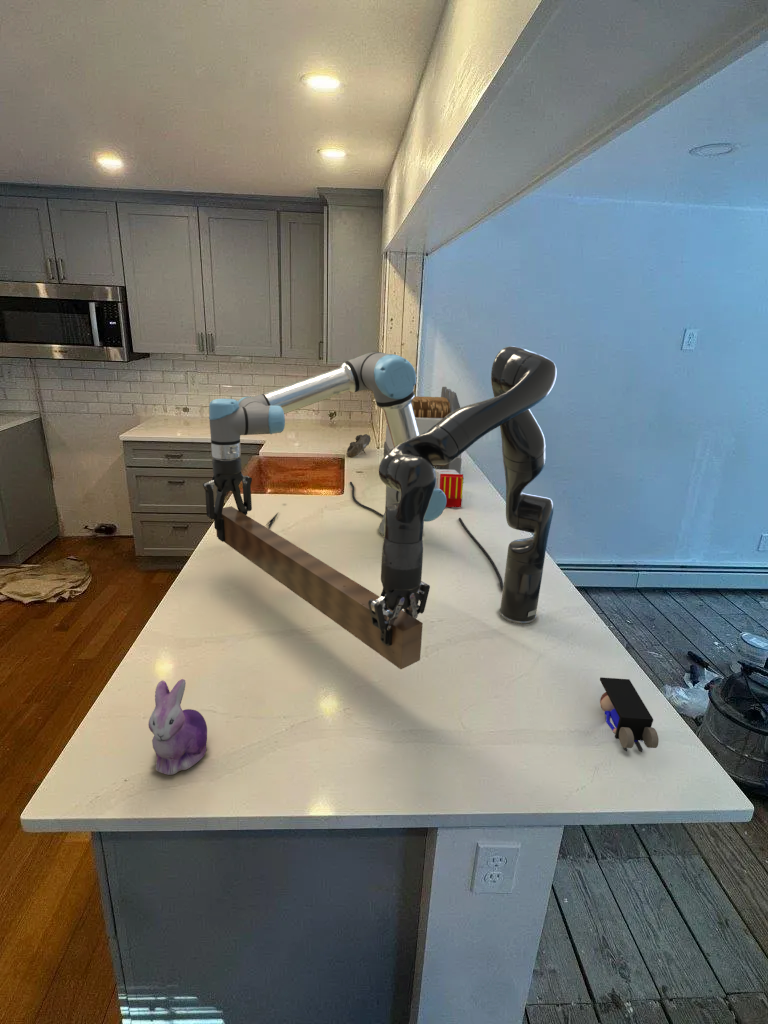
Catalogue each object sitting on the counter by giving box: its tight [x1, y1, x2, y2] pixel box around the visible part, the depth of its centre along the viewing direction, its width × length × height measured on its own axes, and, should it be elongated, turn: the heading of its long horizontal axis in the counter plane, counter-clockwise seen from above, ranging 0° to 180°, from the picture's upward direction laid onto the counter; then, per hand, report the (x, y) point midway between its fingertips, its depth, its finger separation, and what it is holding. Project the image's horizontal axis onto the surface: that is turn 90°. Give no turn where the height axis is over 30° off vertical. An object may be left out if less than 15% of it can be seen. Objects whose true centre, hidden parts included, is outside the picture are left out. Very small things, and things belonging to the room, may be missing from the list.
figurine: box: [148, 678, 208, 776], centre depth 96 cm, size 9×10×15 cm
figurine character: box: [599, 676, 660, 753], centre depth 108 cm, size 7×8×15 cm
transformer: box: [383, 386, 463, 474], centre depth 268 cm, size 34×33×41 cm
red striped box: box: [434, 468, 464, 508], centre depth 240 cm, size 12×13×30 cm
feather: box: [265, 512, 279, 529], centre depth 210 cm, size 2×28×2 cm
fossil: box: [346, 433, 372, 458], centre depth 305 cm, size 22×10×15 cm
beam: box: [215, 506, 424, 670], centre depth 134 cm, size 78×5×8 cm, turn 41°
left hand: (231, 537), depth 160 cm, fingers closed on beam, 5 cm apart
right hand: (397, 638), depth 110 cm, fingers closed on beam, 5 cm apart
